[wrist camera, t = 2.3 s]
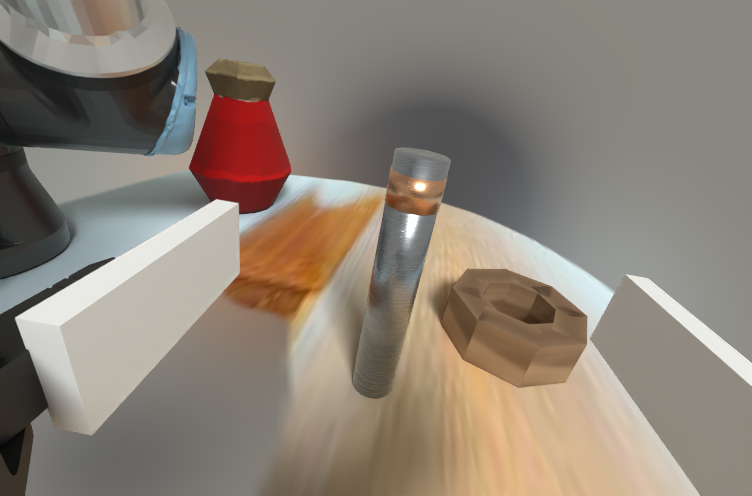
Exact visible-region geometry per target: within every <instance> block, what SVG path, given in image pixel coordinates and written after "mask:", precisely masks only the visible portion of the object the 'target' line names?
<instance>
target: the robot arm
mask: <svg viewBox="0 0 752 496" xmlns="http://www.w3.org/2000/svg"><path fill="white" fill-rule="evenodd" d="M196 90H197V51H196V42H195V39H194V37H193V36H192V34H190V33H189V32H187V31H184V30H182V29H181V28H180V27H175V23H174V19H173V17H172V14H171V11H170V9H169V7H168V6H167V4H166V3H165V1H164V0H0V278H3V277H7V276H10V275H13V274H16V273H19V272H22V271H25V270H28V269H30V268H33V267H35V266H37V265H40V264H42V263H44V262H46V261H48V260H50V259H51V258H53V257H55V256H56V255H58V254H59V253H60V252H62V251H63V250H64V249H65V248H66V247H67V245H68V244H69V242H70V233H69V229H68V225H67V221H66V218H65V216H64V214H63V213H62V212H61V210H60V209H59V208H58V207H57V205H56V204H55V202H54V201H53V199H52V198H51V197H50V195H49V194H48V193H47V191H46V190H45V189H44V188H43V186H42V185H41V183H40V182H39V181H38V179H37V178H36V177H35V175H34V174H33V173H32V171H31V169H30V168H29V165H28V162H27V159H26V156H25V152H24V149H23V147H40V148H58V149H72V150H86V151H100V152H113V153H128V154H141V155H144V156H153V155H155V154H167V155H169V154H170V155H177V154H182V153H184V152H185V151H187V150H188V149H189V148H190V146H191V144H192V141H193V135H194V127H195V115H196V103H195V100H196ZM239 273H240V263H239V203H234V202H229V201H223V200H218V199H216V200H214V201H213V202H211V203H209V204H208V205H206V206H204V207H203V208H201V209H199V210H197V211H196V212H194V213H192V214H191V215H189V216H187V217H185V218H184V219H182V220H180V221H179V222H177V223H175V224H174V225H172V226H170V227H168V228H167V229H165V230H163V231H162V232H160V233H158V234H157V235H155V236H153V237H151V238H150V239H148V240H146V241H145V242H143V243H141V244H139V245H138V246H136V247H134V248H133V249H131V250H129V251H128V252H126V253H124V254H122V255H121V256H119V257H117V258H114V257H112V258H109V259H106V260H103V261H100V262H97V263H94V264H91V265H88V266H86V267H84V268H83V269H81V270H79V271H77V272H76V273H74V274H72V275H70V276H69V278H68V279H66V278H65V279H63V280H61V281H59V282H58V283H56V284H54V285H52V288H47V289H45V290H43V291H41V292H40V293H38V294H36V295H34V296H33V297H31V298H29V299H27V300H25V301H24V302H22V303H20V304H18V305H16V306H15V307H13V308H11V309H9V310H7V311H6V312H4V313H2V314H0V496H25V491H26V484H27V477H28V470H29V464H30V457H31V450H32V443H33V430H32V426H31V424H30V423H31V422H32V421H33V420H34V419H35V418H36V417H38V416H39V415H40V414H41V413H42V412H43V411H44V410H45V409H46V408H48V411H49V413H50V416H51V419H52V422H53V425H54V427H55V428H56V429H62V430H67V431H73V432H77V433H82V434H88V435H93V434H94V433H95V431H96V430H97V429H98V428H99V427H100V426H101V425H102V424H103V423H104V422H105V421H106V419H107V418H108V417H109V416H110V415H111V414H112V413H113V412H114V411H115V410H116V408H117V407H118V406H119V405H120V404H121V403H122V402H123V401H124V400H125V398H127V396H128V395H129V394H130V393H131V392H132V391H133V390H134V389H135V388H136V387H137V385H138V384H139V383H140V382H141V381H142V380H143V379H144V378H145V377H146V376H147V374H148V373H149V372H150V371H151V370H152V369H153V368H154V367H155V366H156V365H157V363H158V362H159V361H160V360H161V359H162V358H163V357H164V356H165V355H166V354H167V353H168V351H169V350H170V349H171V348H172V347H173V346H174V345H175V344H176V343H177V342H178V340H179V339H180V338H181V337H182V336H183V335H184V334H185V333H186V332H187V331H188V329H189V328H190V327H191V326H192V325H193V324H194V323H195V322H196V321H197V320H198V318H199V317H200V316H201V315H202V314H203V313H204V312H205V311H206V310H207V309H208V307H209V306H210V305H211V304H212V303H213V302H214V301H215V300H216V299H217V298H218V297H219V295H220V294H221V293H222V292H223V291H224V290H225V289H226V288H227V287H228V286H229V284H230V283H231V282H232V281H233V280H234V279H235V278H236V277H237V276H238V275H239ZM590 339H591V341H592V342H593V344H594V345H595V347H596V348H597V349H598V351H599V352H600V354H601V355H602V356H603V358H604V359H605V361H606V362H607V364H608V365H609V366H610V368H611V369H612V371H613V372H614V374H615V375H616V376H617V378H618V379H619V381H620V382H621V383H622V385H623V386H624V388H625V389H626V391H627V392H628V393H629V395H630V396H631V398H632V399H633V400H634V402H635V403H636V405H637V406H638V408H639V409H640V410H641V412H642V413H643V415H644V416H645V417H646V419H647V420H648V422H649V423H650V425H651V426H652V427H653V429H654V430H655V432H656V433H657V434H658V436H659V437H660V439H661V440H662V442H663V443H664V444H665V446H666V447H667V449H668V450H669V452H670V453H671V454H672V456H673V457H674V459H675V460H676V461H677V463H678V464H679V466H680V467H681V469H682V470H683V471H684V473H685V474H686V476H687V477H688V478H689V480H690V481H691V483H692V484H693V486H694V487H695V488H696V490H697V491H698V493H699V494H700V495H701V496H752V363H751V362H750V361H748V360H747V359H746V358H745V357H744V356H742V355H741V354H740V353H739V352H737V351H736V350H735V349H734V348H732V347H731V346H730V345H729V344H727V343H726V342H725V341H724V340H723V339H721V338H720V337H719V336H718V335H716V334H715V333H714V332H713V331H712V330H710V329H709V328H708V327H707V326H706V325H704V324H703V323H702V322H701V321H699V320H698V319H697V318H696V317H694V316H693V315H692V314H691V313H689V312H688V311H687V310H686V309H685V308H683V307H682V306H681V305H680V304H679V303H677V302H676V301H675V300H674V299H672V298H671V297H670V296H669V295H668V294H666V293H665V292H664V291H663V290H661V289H660V288H659V287H658V286H657V285H655V284H654V283H653V282H652V281H650V280H649V279H648V278H643V277H637V276H631V275H626V274H625V275H624V277H623V279H622V281H621V283H620V285H619V286H618V288H617V290H616V292H615V293H614V295H613V297H612V299H611V301H610V303H609V304H608V306H607V308H606V310H605V312H604V314H603V315H602V317H601V319H600V321H599V323H598V325H597V327H596V328H595V330H594V332H593V334H592V336H591V338H590Z"/></svg>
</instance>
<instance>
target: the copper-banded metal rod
mask: <svg viewBox="0 0 752 496" xmlns="http://www.w3.org/2000/svg"><path fill="white" fill-rule="evenodd" d="M450 162H451V160H450V159H449V158H448V157H446V156H443V155H441V154H438V153H434V152H430V151H426V150H421V149H414V148H396V149H395V153H394V158H393V164H392V166H391V170H390V175H389V180H388V186H387V191H386V196H385V206H384V212H383V217H382V223H381V228H380V233H379V239H378V244H377V249H376V255H375V260H374V266H373V271H372V276H371V282H370V287H369V292H368V298H367V303H366V309H365V314H364V319H363V325H362V330H361V336H360V341H359V346H358V352H357V357H356V362H355V368H354V373H353V379H352V381H353V385H354V387H355V389H356V390H357V391H358V392H359V393H360V394H362V395H363V396H365V397H368V398H381V397H384V396H386V395H387V394H388V393H389V392H390V391H391V389H392V385H393V381H394V377H395V374H396V370H397V366H398V362H399V358H400V354H401V350H402V347H403V343H404V339H405V335H406V331H407V327H408V324H409V320H410V316H411V312H412V308H413V304H414V300H415V297H416V293H417V289H418V285H419V281H420V277H421V274H422V270H423V266H424V262H425V258H426V254H427V251H428V247H429V243H430V239H431V235H432V231H433V227H434V224H435V220H436V216H437V213H438V211H439V208H440V204H441V200H442V196H443V192H444V189H445V185H446V181H447V173H448V170H449V166H450Z"/></svg>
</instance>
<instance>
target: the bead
mask: <svg viewBox="0 0 752 496" xmlns="http://www.w3.org/2000/svg"><path fill="white" fill-rule="evenodd" d="M441 324H442V326H443V328H444V329H445V331H446V332H447V334H448V336H449V337H450V339H451V340H452V342H453V344H454V345H455V347H456V348H457V350H458V352H459V353H460V355H461V357H462V358H463V360H465V361H467V362H469V363H471V364H473V365H475V366H477V367H479V368H481V369H483V370H485V371H487V372H489V373H491V374H493V375H495V376H497V377H499V378H501V379H503V380H505V381H507V382H509V383H511V384H513V385H515V386H517V387H528V386H537V385H546V384H555V383H564V382H566V380H567V378H568V377H569V375H570V373H571V371H572V370H573V368H574V366H575V364H576V363H577V361H578V359H579V357H580V355H581V354H582V352H583V350H584V348H585V347H586V345H587V316H586V315H585V314H584V313H583V312H582V311H580V310H579V309H578V308H577V307H576V306H575V305H573V304H572V303H571V302H570V301H569V300H567V299H566V298H565V297H564V296H563V295H561V294H560V293H559V292H558V291H557V290H555V289H554V288H553V287H552V286H549V285H546V284H544V283H541V282H538V281H536V280H533V279H530V278H528V277H525V276H522V275H520V274H517V273H514V272H512V271H509V270H507V269H467V270H466V271H465V272H464V274H463V275H462V276H461V277H460V279H459V280H458V281H457V282H456V284H455V285H454V286H453V287H452V290H451V293H450V297H449V300H448V303H447V306H446V309H445V313H444V316H443V319H442V322H441Z"/></svg>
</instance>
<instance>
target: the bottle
mask: <svg viewBox="0 0 752 496" xmlns="http://www.w3.org/2000/svg"><path fill="white" fill-rule="evenodd" d="M205 73H206V75H207V77H208V80H209V82H210V85H211V87H212V90H213V92H214V97H213V99H212V102H211V105H210V108H209V111H208V114H207V117H206V120H205V123H204V126H203V128H202V131H201V135H200V137H199V140H198V143H197V146H196V149H195V152H194V155H193V157H192V160H191V163H190V166H189V169H190V171H191V172H192V174H193V175H194V177H195V178H196V180H197V181H198V183H199V184H200V186H201V187H202V189H203V190H204V192H205V193H206V195H207V196H208V198H209V199H210V201H211V202H213V201H214V200H216V199H218V200H223V201H229V202H234V203H239V214H248V213H256V212H260V211H263V210H267V209H268V208H269V207H270V206H271V205H272V204H273V202H274V201H275V199H276V197H277V195H278V194H279V192H280V190H281V188H282V187H283V185H284V183H285V181H286V180H287V178H288V176H289V175H290V173H291V165H290V162H289V159H288V156H287V154H286V151H285V148H284V145H283V142H282V139H281V136H280V133H279V130H278V127H277V124H276V121H275V118H274V115H273V112H272V109H271V106H270V103H269V97H270V95H271V92H272V90H273V87H274V84H275V82H276V81H275V79H274V78H273V77H272V75H271V74H270V73H269V71H268V70H267V69H266V68H265V66H263V65H258V64H253V63H247V62H241V61H235V60H229V59H221V58H220V59H218V60H217V61H216V62H215V63H213V64H212V65H211V66H210V67H209V68H208V69H207V70H205Z"/></svg>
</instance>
